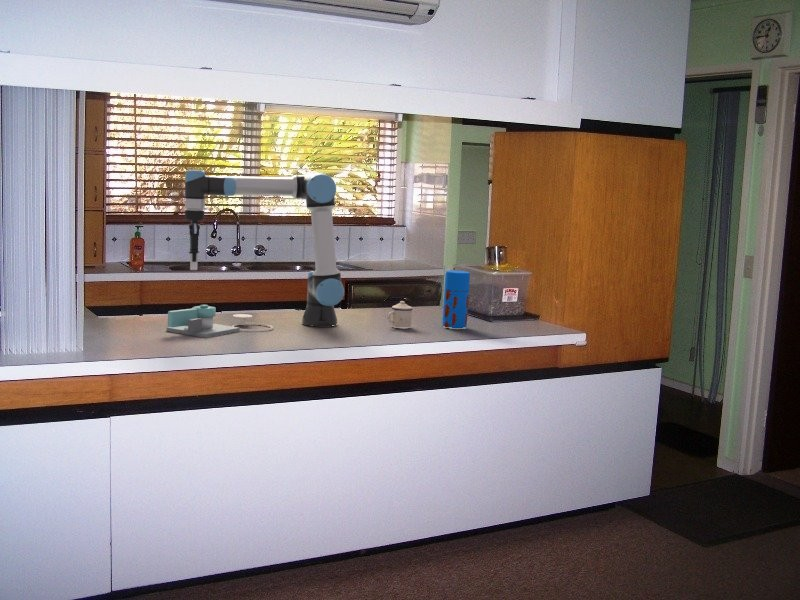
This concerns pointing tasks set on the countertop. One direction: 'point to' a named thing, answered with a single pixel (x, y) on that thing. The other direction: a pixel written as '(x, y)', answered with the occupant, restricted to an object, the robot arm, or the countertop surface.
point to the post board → (205, 331)
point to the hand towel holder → (245, 316)
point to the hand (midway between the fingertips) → (193, 269)
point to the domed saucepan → (189, 315)
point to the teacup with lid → (400, 315)
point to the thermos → (456, 299)
